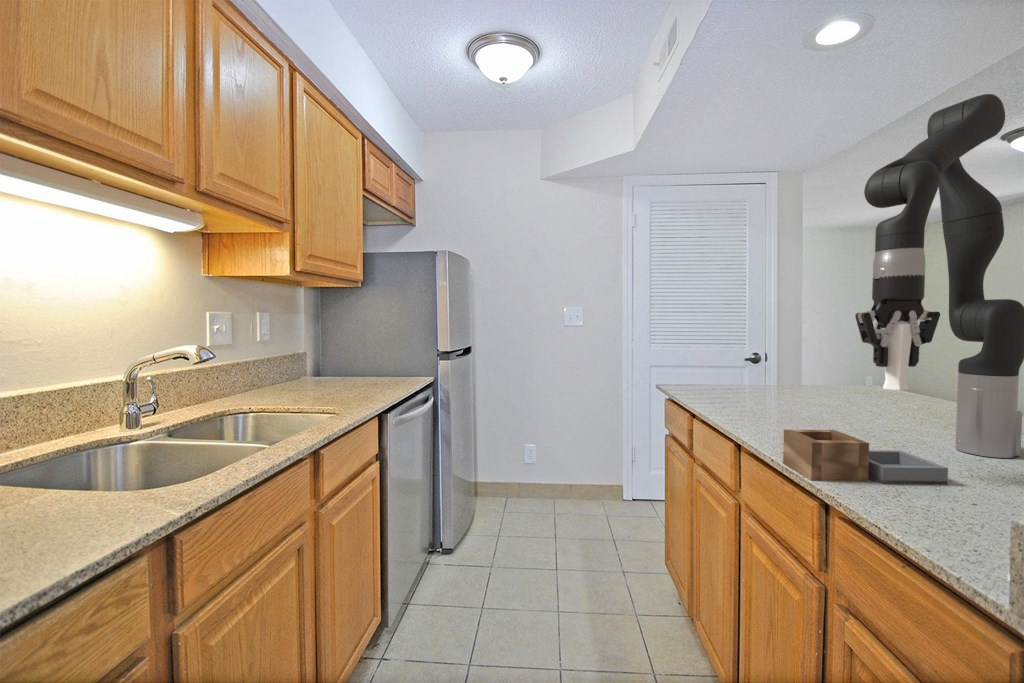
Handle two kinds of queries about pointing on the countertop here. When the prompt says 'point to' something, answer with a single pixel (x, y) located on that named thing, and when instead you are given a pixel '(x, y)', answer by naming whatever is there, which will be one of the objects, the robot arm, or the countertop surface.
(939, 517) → the countertop surface
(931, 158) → the robot arm
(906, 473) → the tray
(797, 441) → the wooden cubby box
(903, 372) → the perfume bottle
